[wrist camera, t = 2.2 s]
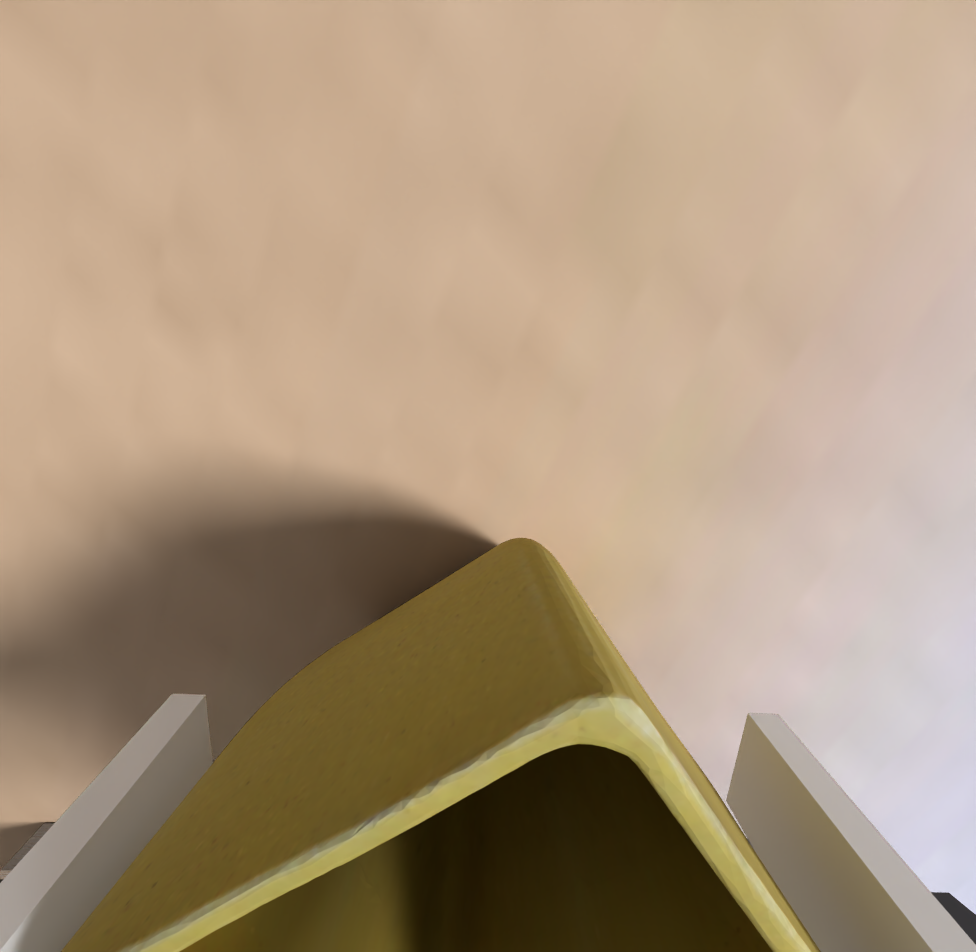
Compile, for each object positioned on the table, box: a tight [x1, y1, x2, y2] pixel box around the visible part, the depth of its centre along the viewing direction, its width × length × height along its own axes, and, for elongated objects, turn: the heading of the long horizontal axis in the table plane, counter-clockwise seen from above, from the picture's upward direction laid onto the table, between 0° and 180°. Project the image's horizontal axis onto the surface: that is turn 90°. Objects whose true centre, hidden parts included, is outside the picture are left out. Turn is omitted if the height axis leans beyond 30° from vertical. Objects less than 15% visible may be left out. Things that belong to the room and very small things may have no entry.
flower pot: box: [61, 538, 821, 952], centre depth 10 cm, size 9×9×9 cm
